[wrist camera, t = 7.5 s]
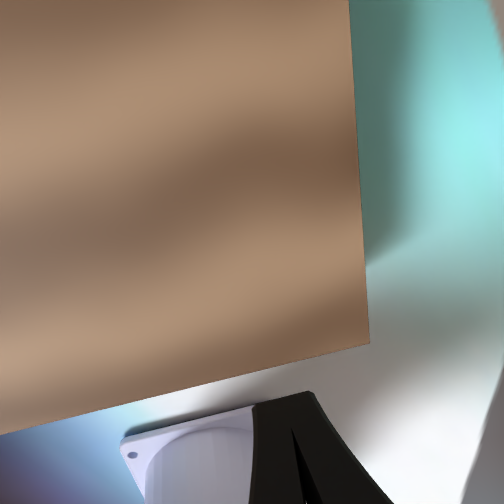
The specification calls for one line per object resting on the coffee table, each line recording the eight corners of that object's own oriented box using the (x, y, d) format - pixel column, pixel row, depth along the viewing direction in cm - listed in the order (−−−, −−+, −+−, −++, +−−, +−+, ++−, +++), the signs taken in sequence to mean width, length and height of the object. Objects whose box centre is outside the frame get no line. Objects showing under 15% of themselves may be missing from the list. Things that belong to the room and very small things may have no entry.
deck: (337, 284, 22) (369, 343, 18) (-17, 370, 21) (-52, 447, 17) (299, -91, 14) (341, -110, 11) (-246, 20, 14) (-384, 36, 10)
